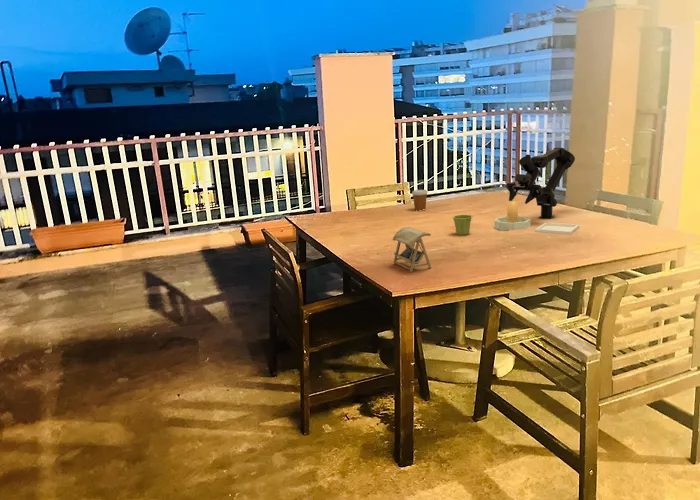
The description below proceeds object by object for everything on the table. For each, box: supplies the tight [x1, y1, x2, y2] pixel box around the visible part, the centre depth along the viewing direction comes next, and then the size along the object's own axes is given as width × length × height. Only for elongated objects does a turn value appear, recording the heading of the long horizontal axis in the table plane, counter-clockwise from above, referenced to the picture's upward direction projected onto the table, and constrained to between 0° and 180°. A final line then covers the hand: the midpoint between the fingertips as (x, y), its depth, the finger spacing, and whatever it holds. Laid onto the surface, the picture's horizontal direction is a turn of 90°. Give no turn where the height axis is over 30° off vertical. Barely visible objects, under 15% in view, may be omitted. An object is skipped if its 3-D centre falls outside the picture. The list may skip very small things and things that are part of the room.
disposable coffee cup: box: [411, 189, 429, 211], centre depth 329 cm, size 10×10×12 cm
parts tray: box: [534, 222, 580, 235], centre depth 255 cm, size 16×16×2 cm
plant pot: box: [452, 214, 473, 236], centre depth 261 cm, size 9×9×9 cm
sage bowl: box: [494, 216, 532, 232], centre depth 268 cm, size 16×16×4 cm
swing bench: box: [392, 226, 432, 273], centre depth 213 cm, size 15×10×15 cm, turn 24°
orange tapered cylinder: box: [506, 200, 519, 223], centre depth 267 cm, size 5×5×12 cm
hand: (517, 202), depth 268 cm, fingers open, 9 cm apart
